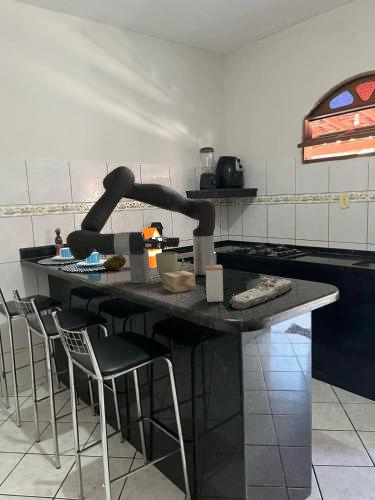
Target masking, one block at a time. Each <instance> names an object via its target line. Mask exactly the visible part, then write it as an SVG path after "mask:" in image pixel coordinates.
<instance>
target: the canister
mask: <svg viewBox="0 0 375 500" xmlns="http://www.w3.org/2000/svg"><path fill="white" fill-rule="evenodd" d="M205 268H206V275H205V284H206V285H205V290H206V293H205V294H206V301H207V302H210V303H211V302H212V303H213V302H224V280H223V278H224V277H223V274H224V273H223V272H224V271H223V270H224V268H223V266H222V264H216V265H205Z"/></svg>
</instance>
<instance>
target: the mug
mask: <svg viewBox="0 0 375 500" xmlns="http://www.w3.org/2000/svg"><path fill="white" fill-rule="evenodd" d="M155 256H156V265H157V267H156V270H157V273H158V275H159V276H158V277H159V278H160V282H161V284H162V285H164V277H163V273H169V272H177V271H182V269H183V267H184V266H185V259H184V257H183V256H182V255H178V252H174V251H173V252H171V251H167V252H166V251H165V252H162V253H157V254H155ZM180 258H181V266H180V267H179V268H178V259H180ZM177 268H178V269H177Z"/></svg>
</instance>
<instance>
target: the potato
mask: <svg viewBox="0 0 375 500" xmlns="http://www.w3.org/2000/svg"><path fill="white" fill-rule="evenodd" d="M126 264H127V260H126V257H125V255H112V256H111V257H110V258H108V259H107V260H105V261H103V264H102V267H103V268H104V269H105V270H111V271H118V270H120V269H121V268H123V267H124V266H125V265H126Z"/></svg>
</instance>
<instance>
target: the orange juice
mask: <svg viewBox="0 0 375 500" xmlns="http://www.w3.org/2000/svg"><path fill="white" fill-rule="evenodd" d="M141 232H143V233H144V235H145V239H149V237H151V236H154V237H159V236H160V233H159V231H158V230H157V227H142V230H141ZM160 237H161V236H160ZM162 250H163V249H153V250H150V249H148V252H149V263H150V269H155V268H157V265H156V256H155V254H157V253H163V252H162Z"/></svg>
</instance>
